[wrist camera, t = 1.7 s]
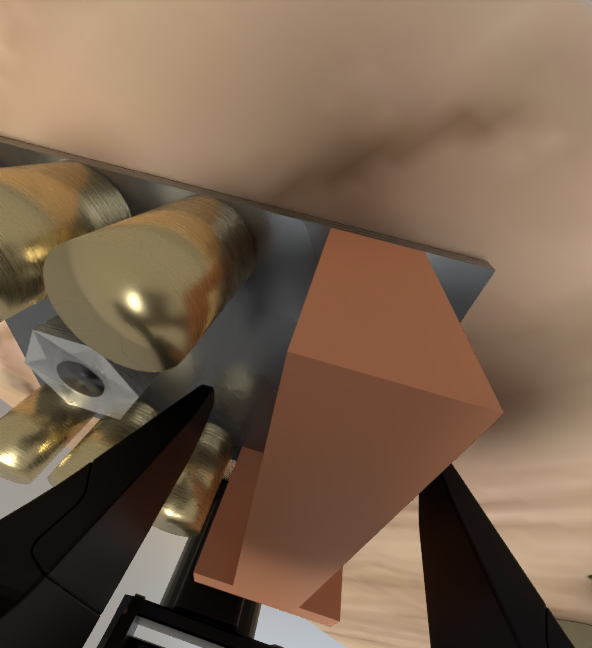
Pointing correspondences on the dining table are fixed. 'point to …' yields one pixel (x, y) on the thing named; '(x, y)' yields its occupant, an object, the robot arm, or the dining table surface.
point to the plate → (250, 310)
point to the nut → (83, 371)
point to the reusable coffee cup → (577, 633)
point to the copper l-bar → (348, 428)
